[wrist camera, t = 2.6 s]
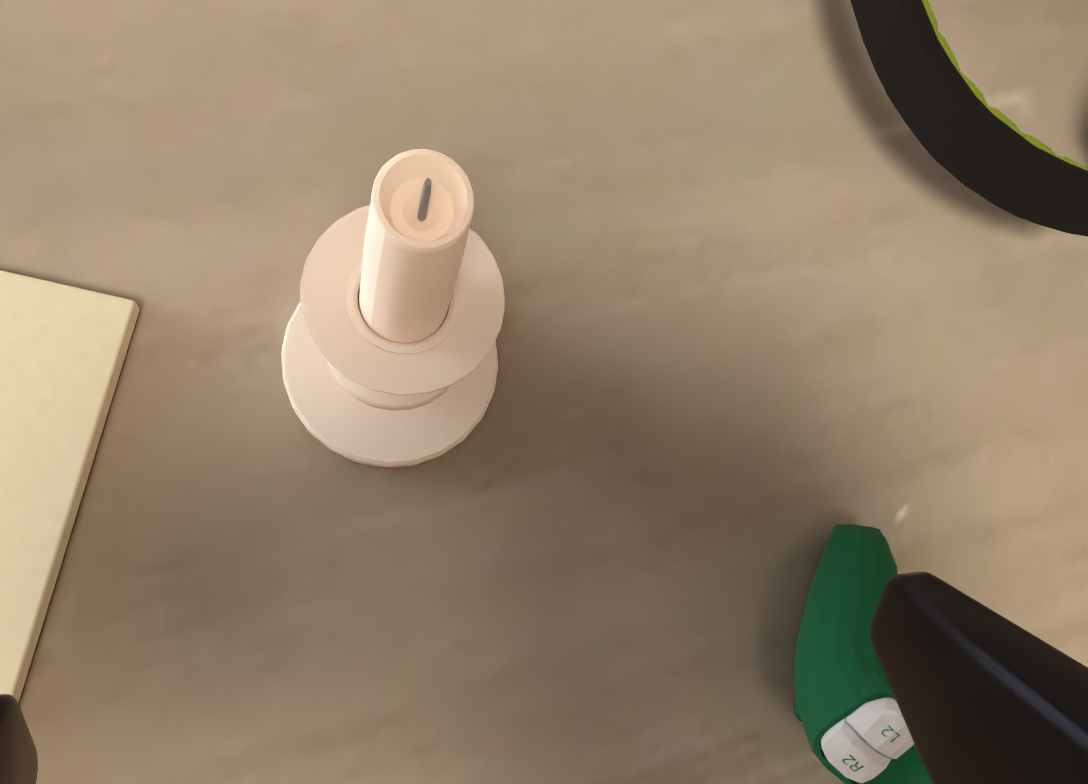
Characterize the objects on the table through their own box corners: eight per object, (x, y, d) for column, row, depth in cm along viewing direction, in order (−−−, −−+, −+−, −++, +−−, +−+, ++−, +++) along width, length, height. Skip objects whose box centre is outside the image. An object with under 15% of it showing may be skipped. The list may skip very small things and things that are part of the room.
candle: (492, 472, 22) (610, 376, 12) (273, 463, 21) (206, 349, 11) (498, 273, 23) (611, 36, 13) (291, 255, 22) (245, -18, 12)
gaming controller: (757, 585, 25) (745, 748, 19) (854, 497, 23) (870, 652, 18) (1015, 777, 25) (1072, 987, 20) (1130, 706, 23) (1227, 917, 18)
